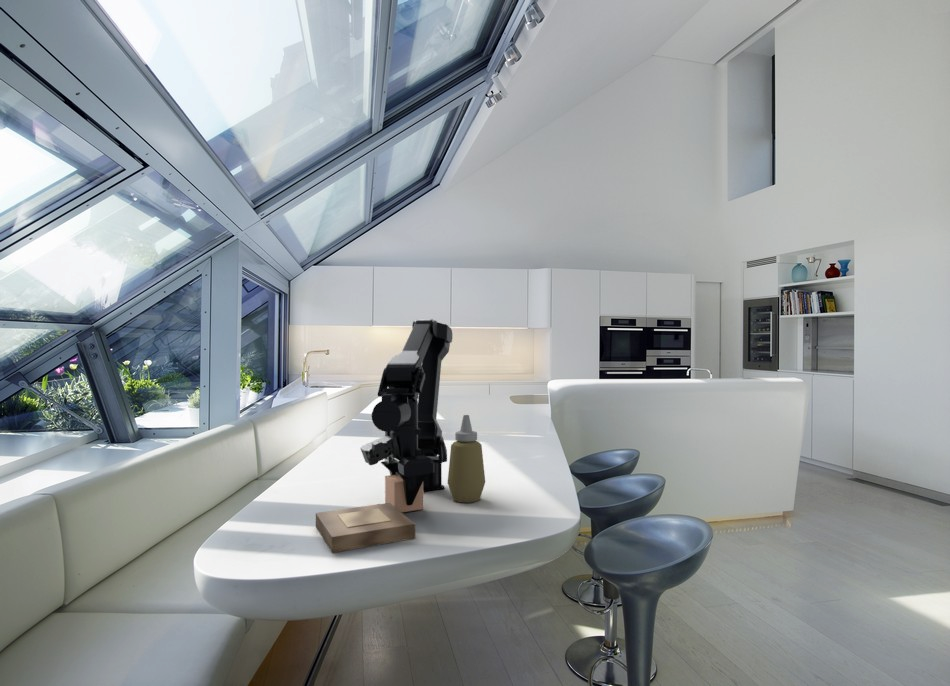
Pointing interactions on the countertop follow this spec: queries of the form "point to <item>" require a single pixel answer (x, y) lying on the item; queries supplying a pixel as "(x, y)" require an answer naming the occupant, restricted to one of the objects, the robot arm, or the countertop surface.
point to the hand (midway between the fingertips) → (404, 500)
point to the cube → (401, 494)
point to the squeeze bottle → (466, 465)
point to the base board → (363, 526)
